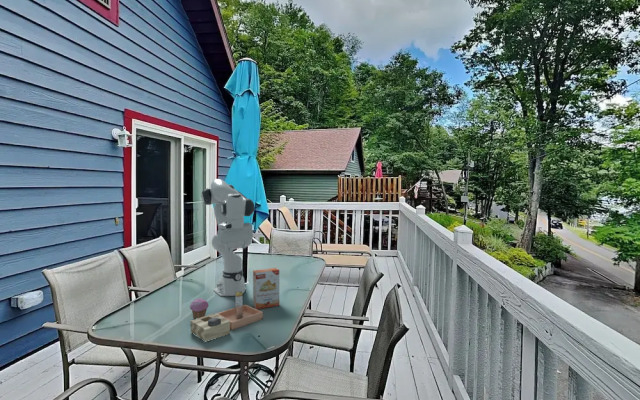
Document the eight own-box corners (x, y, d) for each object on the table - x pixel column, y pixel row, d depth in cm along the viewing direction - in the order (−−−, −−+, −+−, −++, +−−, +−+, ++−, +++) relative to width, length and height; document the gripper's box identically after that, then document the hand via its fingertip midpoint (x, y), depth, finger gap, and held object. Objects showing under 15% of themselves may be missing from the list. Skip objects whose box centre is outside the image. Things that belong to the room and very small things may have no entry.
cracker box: (256, 310, 183) (255, 272, 182) (253, 306, 188) (252, 270, 187) (280, 305, 189) (279, 269, 188) (276, 302, 195) (275, 267, 194)
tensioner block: (191, 333, 155) (190, 317, 155) (214, 325, 164) (214, 310, 163) (205, 343, 145) (205, 326, 145) (229, 334, 154) (229, 318, 153)
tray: (215, 320, 169) (215, 313, 169) (245, 310, 182) (245, 304, 182) (232, 329, 158) (232, 322, 158) (263, 318, 171) (262, 312, 171)
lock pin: (234, 317, 170) (234, 292, 169) (240, 315, 173) (240, 291, 172) (238, 319, 168) (237, 294, 167) (244, 317, 170) (243, 292, 169)
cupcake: (200, 313, 179) (200, 295, 178) (212, 316, 174) (211, 298, 174) (186, 319, 171) (186, 300, 170) (198, 322, 167) (197, 303, 166)
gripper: (248, 221, 188) (249, 246, 189) (215, 225, 173) (215, 251, 174) (255, 222, 184) (255, 247, 184) (221, 226, 169) (222, 253, 170)
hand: (236, 249), depth 179 cm, fingers open, 8 cm apart
